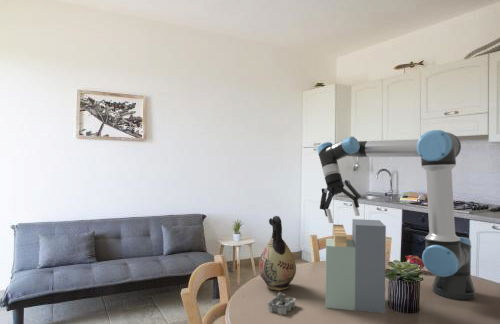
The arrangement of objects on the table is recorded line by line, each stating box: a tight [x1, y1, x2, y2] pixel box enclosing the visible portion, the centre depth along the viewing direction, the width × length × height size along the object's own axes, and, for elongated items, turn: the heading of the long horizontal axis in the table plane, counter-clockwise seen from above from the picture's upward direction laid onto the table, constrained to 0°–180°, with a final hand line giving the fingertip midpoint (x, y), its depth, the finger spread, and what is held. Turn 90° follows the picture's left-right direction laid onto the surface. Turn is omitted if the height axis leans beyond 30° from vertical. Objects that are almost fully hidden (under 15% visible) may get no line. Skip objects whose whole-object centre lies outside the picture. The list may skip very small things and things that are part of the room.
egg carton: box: [266, 291, 296, 315], centre depth 126 cm, size 11×8×4 cm
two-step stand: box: [324, 218, 387, 314], centre depth 132 cm, size 14×20×30 cm
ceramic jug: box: [258, 215, 297, 291], centre depth 147 cm, size 17×15×30 cm
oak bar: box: [332, 223, 348, 247], centre depth 138 cm, size 24×4×4 cm, turn 168°
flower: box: [405, 254, 425, 270], centre depth 173 cm, size 10×9×8 cm
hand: (344, 219), depth 160 cm, fingers open, 13 cm apart
